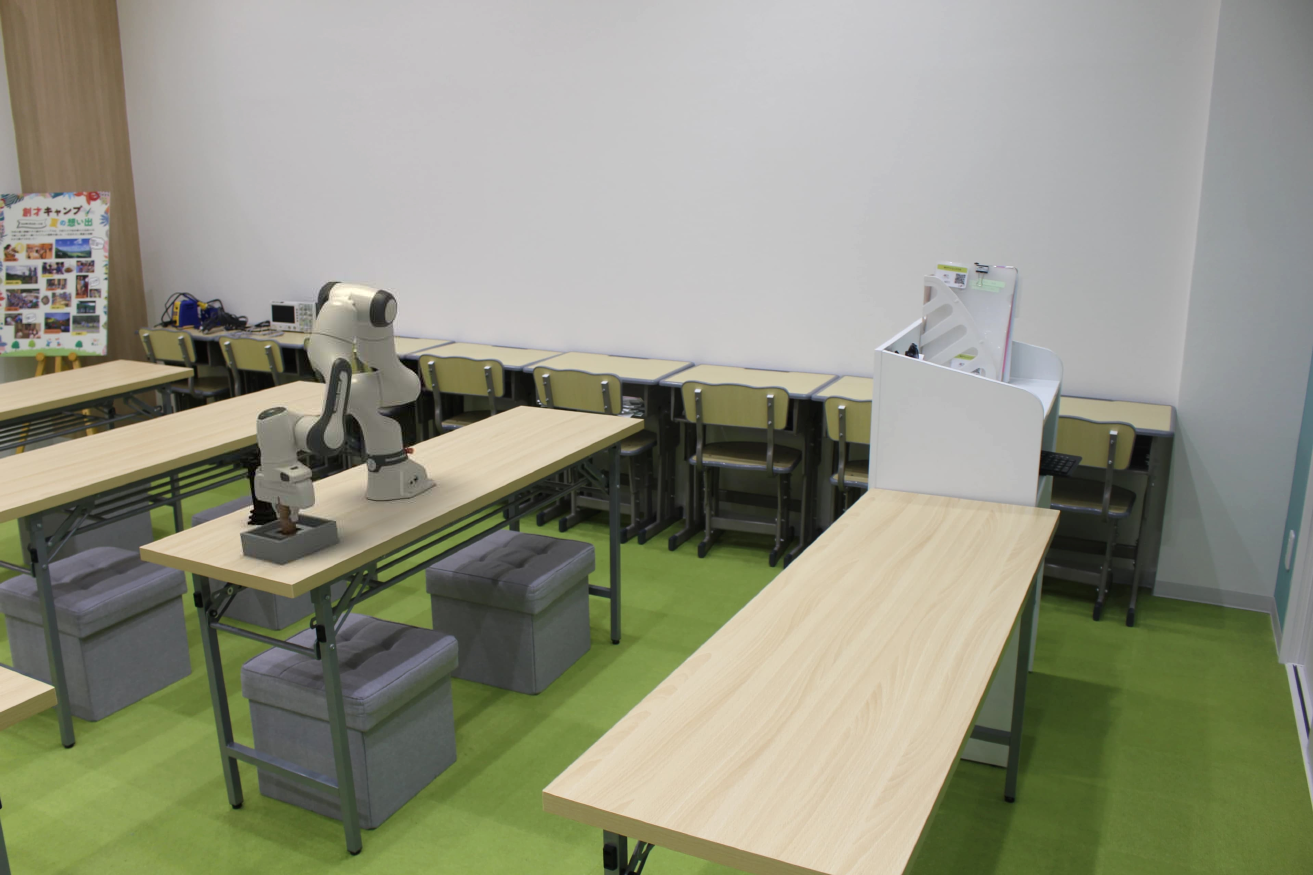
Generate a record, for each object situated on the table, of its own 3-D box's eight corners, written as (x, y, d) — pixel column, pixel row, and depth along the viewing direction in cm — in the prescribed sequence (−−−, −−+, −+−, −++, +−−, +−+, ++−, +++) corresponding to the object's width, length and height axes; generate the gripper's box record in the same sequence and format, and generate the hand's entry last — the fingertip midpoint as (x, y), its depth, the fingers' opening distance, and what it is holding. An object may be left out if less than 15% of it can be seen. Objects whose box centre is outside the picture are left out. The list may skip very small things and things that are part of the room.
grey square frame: (294, 536, 257) (292, 522, 256) (316, 541, 252) (314, 527, 251) (266, 547, 249) (263, 533, 248) (288, 553, 245) (285, 538, 244)
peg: (291, 534, 253) (285, 492, 250) (300, 536, 251) (294, 494, 248) (280, 538, 250) (273, 496, 247) (289, 541, 248) (282, 497, 245)
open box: (300, 533, 263) (297, 512, 261) (338, 541, 254) (336, 521, 253) (243, 554, 248) (240, 533, 246) (282, 564, 240) (279, 542, 238)
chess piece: (272, 525, 270) (262, 458, 265) (247, 524, 271) (237, 458, 266) (288, 516, 277) (278, 451, 272) (264, 515, 279) (254, 450, 274)
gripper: (245, 468, 248) (252, 517, 252) (295, 477, 238) (302, 529, 241) (265, 462, 254) (272, 510, 257) (315, 471, 243) (322, 521, 246)
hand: (287, 519), depth 249 cm, fingers closed on peg, 4 cm apart
